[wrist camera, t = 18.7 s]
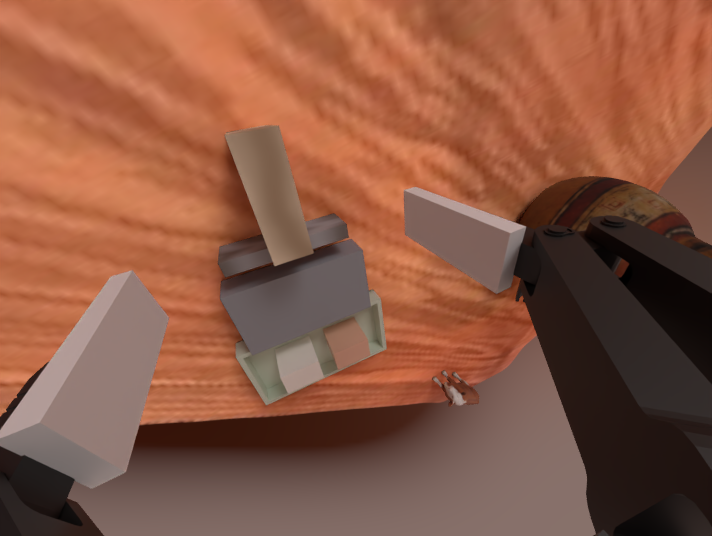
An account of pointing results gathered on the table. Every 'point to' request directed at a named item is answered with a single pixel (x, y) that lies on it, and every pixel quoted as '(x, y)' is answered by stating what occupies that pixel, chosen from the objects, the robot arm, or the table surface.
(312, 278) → the slate board
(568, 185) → the ceramic pitcher
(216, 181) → the table surface
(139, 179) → the table surface
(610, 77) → the table surface
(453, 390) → the bull figurine
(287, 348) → the light grey block
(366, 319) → the tray
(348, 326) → the reddish brown block
